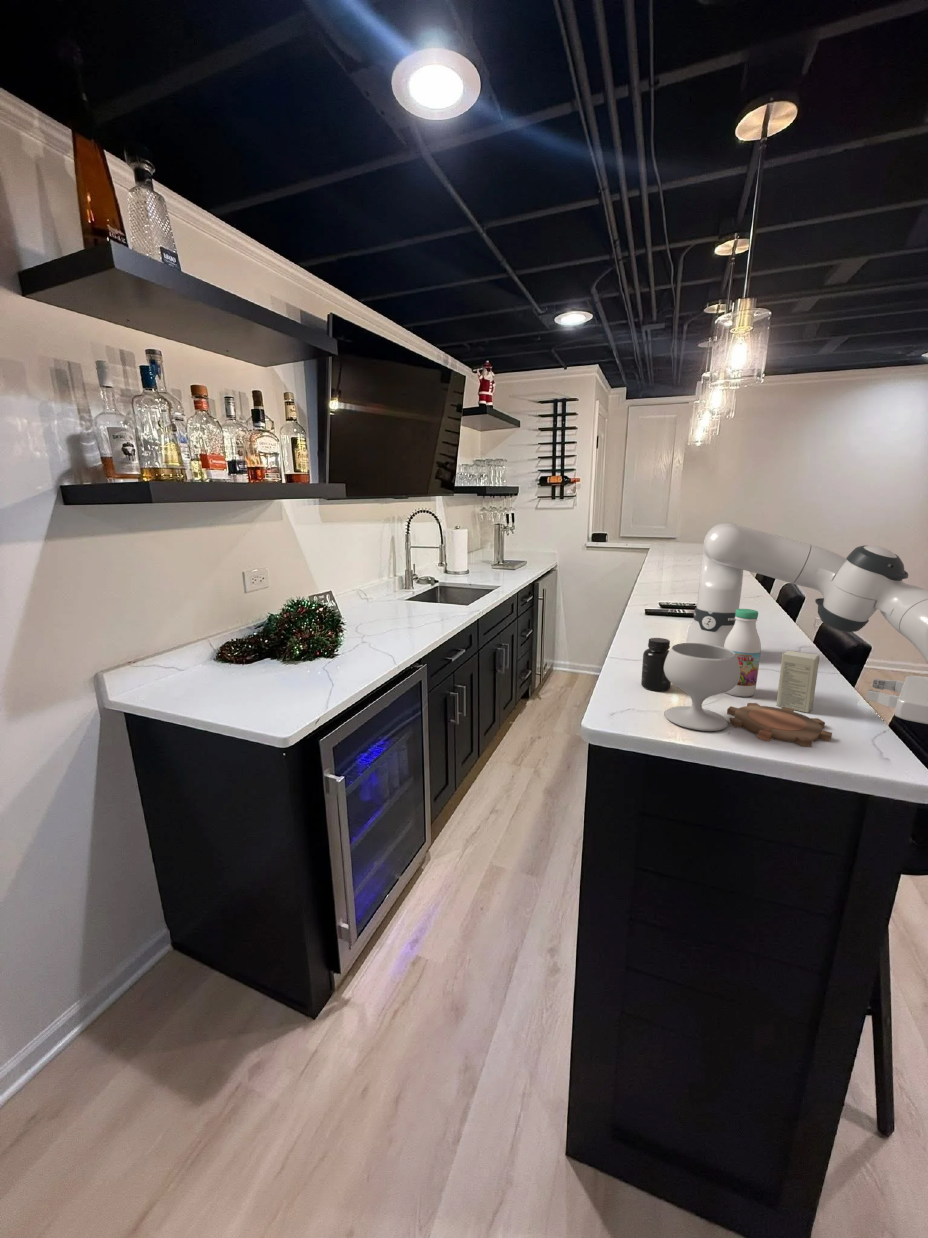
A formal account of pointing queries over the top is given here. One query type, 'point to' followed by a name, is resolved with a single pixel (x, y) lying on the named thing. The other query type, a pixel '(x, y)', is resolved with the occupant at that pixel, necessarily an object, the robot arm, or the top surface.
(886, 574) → the robot arm
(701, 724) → the chalice
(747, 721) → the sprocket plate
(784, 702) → the skincare box
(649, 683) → the supplement bottle
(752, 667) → the milk bottle
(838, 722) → the top surface
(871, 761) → the top surface
